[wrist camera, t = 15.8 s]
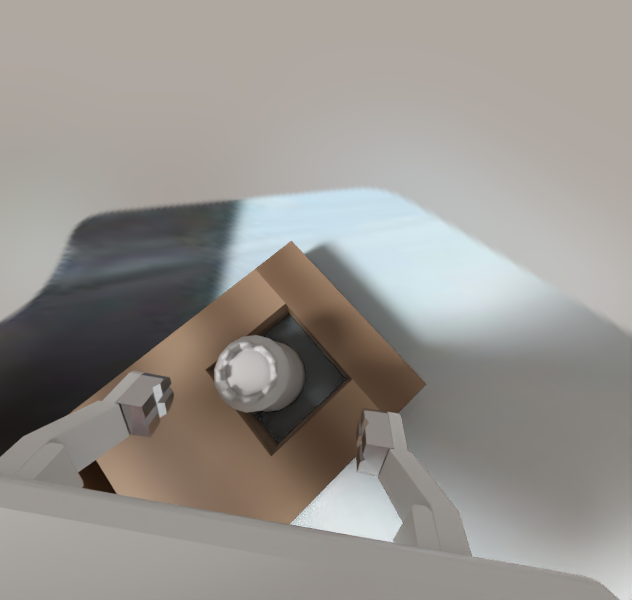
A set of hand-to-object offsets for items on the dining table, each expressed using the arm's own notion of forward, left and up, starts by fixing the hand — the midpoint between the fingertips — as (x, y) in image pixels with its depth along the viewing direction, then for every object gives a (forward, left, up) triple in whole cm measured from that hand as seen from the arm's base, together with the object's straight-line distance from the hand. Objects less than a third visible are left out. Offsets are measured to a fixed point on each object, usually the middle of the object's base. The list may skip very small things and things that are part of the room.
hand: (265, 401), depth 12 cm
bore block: (+4, -1, -7) cm, 8 cm away
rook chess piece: (0, -1, -7) cm, 7 cm away
